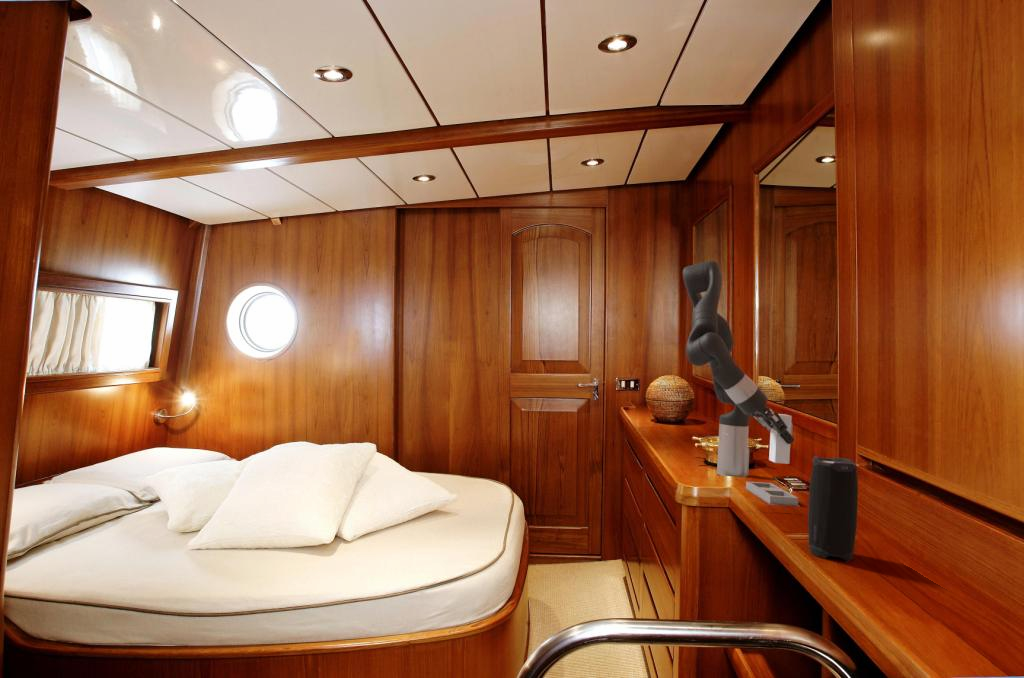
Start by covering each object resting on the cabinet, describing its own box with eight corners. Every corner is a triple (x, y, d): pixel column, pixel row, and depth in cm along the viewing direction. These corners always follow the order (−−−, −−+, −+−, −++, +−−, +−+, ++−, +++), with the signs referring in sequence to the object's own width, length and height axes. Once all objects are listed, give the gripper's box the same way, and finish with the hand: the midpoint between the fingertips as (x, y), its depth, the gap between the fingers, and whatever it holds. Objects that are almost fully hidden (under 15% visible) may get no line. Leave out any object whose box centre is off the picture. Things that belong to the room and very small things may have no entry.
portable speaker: (839, 548, 117) (844, 456, 117) (864, 565, 107) (869, 465, 108) (798, 545, 117) (802, 453, 118) (819, 561, 108) (824, 462, 108)
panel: (770, 492, 164) (771, 482, 164) (800, 510, 146) (800, 498, 146) (743, 490, 164) (744, 480, 164) (769, 508, 146) (770, 496, 146)
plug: (785, 461, 152) (787, 414, 153) (791, 464, 149) (794, 416, 149) (769, 460, 153) (771, 413, 153) (775, 462, 149) (777, 415, 149)
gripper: (766, 386, 144) (811, 435, 144) (745, 383, 158) (785, 428, 158) (745, 405, 144) (789, 454, 144) (725, 400, 159) (766, 445, 158)
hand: (787, 440), depth 151 cm, fingers closed on plug, 3 cm apart
